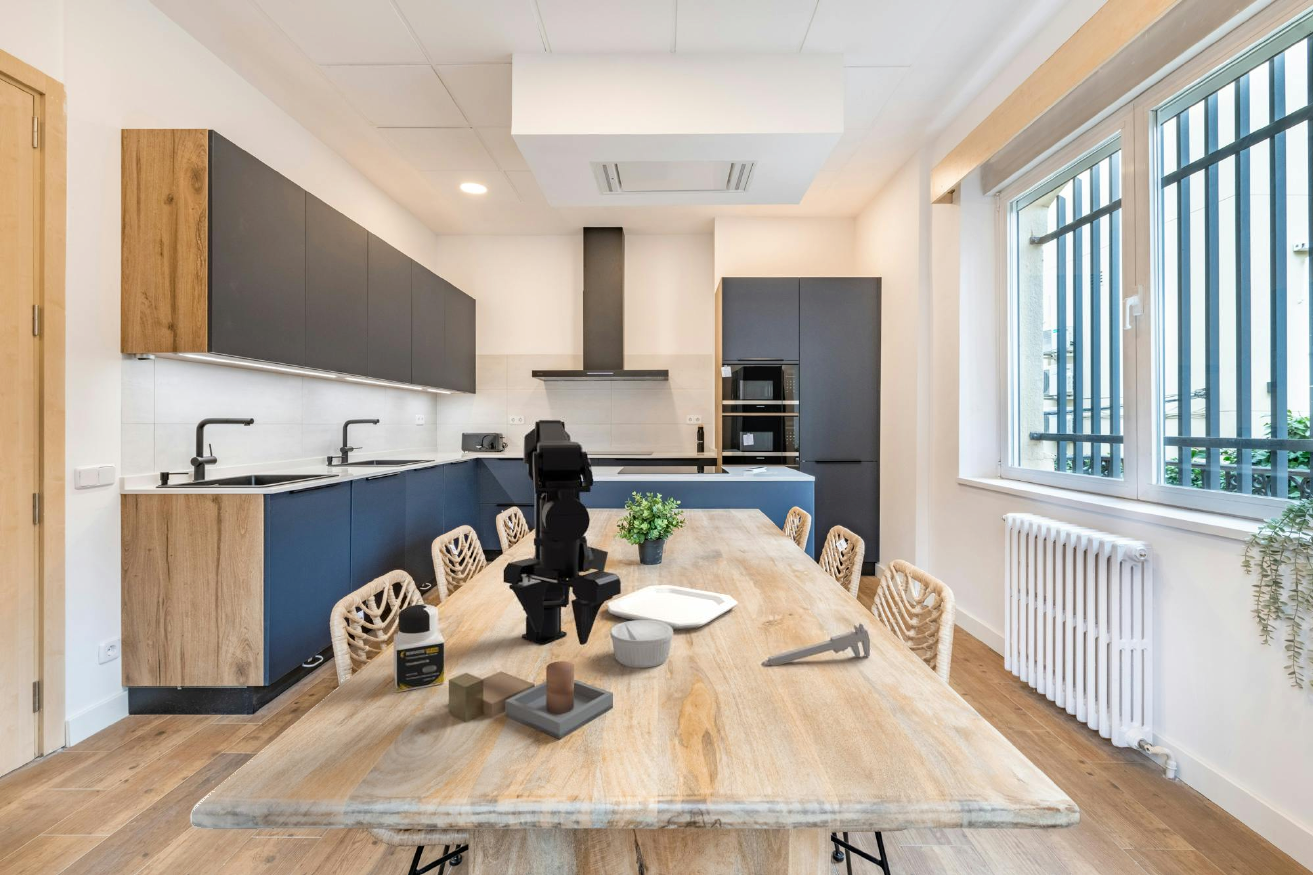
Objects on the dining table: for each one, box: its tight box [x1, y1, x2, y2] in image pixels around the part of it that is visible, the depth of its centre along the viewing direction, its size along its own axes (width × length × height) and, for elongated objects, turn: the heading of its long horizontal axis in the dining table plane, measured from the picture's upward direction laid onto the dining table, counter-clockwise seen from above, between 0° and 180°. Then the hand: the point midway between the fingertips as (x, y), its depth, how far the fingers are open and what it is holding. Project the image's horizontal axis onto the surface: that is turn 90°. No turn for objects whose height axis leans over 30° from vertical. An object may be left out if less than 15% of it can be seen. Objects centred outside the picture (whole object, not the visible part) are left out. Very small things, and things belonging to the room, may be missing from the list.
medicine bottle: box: [393, 603, 445, 693], centre depth 96 cm, size 7×7×12 cm
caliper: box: [761, 622, 871, 667], centre depth 105 cm, size 20×1×6 cm, turn 102°
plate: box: [605, 584, 739, 630], centre depth 133 cm, size 25×25×2 cm
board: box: [482, 670, 536, 719], centre depth 89 cm, size 8×8×2 cm
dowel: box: [545, 660, 575, 714], centre depth 85 cm, size 4×4×6 cm
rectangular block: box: [448, 672, 484, 723], centre depth 85 cm, size 3×4×5 cm
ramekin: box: [610, 620, 674, 669], centre depth 106 cm, size 11×11×5 cm
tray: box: [504, 679, 614, 740], centre depth 85 cm, size 11×11×2 cm
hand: (560, 637), depth 85 cm, fingers open, 9 cm apart
